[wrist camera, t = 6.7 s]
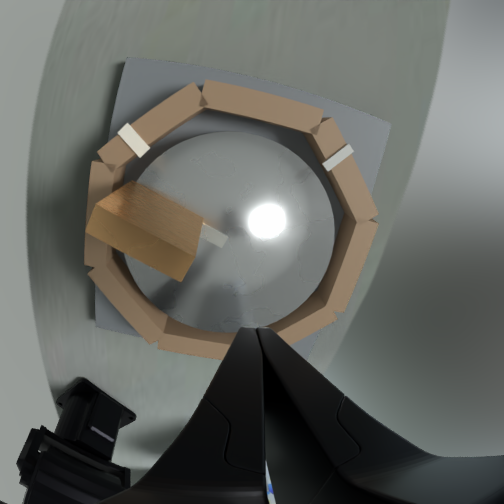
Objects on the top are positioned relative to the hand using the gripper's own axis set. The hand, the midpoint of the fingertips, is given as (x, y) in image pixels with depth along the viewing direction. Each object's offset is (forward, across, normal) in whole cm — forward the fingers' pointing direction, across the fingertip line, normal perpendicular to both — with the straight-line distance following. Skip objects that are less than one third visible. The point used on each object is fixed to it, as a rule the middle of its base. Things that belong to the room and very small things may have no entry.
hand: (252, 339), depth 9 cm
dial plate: (+12, 0, 0) cm, 12 cm away
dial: (+10, +1, 0) cm, 10 cm away
